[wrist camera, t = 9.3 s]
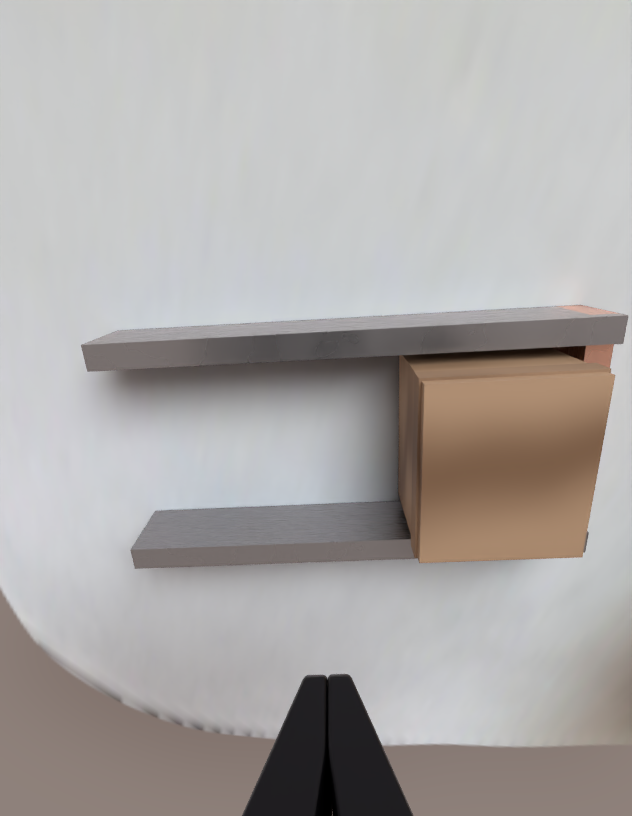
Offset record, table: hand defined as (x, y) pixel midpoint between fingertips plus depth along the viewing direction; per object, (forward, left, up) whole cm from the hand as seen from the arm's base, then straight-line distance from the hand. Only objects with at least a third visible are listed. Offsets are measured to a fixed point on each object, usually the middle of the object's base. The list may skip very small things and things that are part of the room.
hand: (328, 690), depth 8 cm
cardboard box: (0, -6, -13) cm, 14 cm away
